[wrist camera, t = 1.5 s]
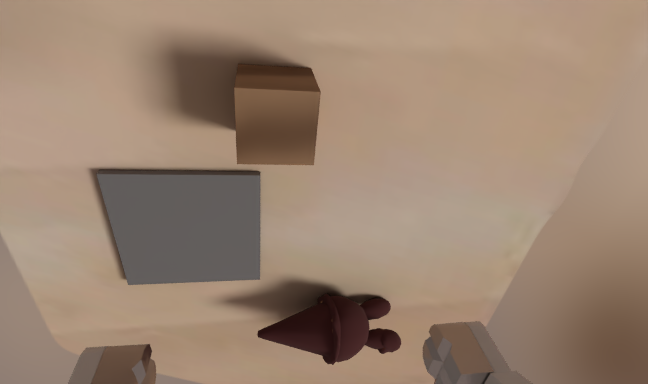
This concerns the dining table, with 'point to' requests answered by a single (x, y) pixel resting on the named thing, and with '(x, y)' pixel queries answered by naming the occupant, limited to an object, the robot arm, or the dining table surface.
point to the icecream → (335, 329)
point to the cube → (276, 115)
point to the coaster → (184, 224)
